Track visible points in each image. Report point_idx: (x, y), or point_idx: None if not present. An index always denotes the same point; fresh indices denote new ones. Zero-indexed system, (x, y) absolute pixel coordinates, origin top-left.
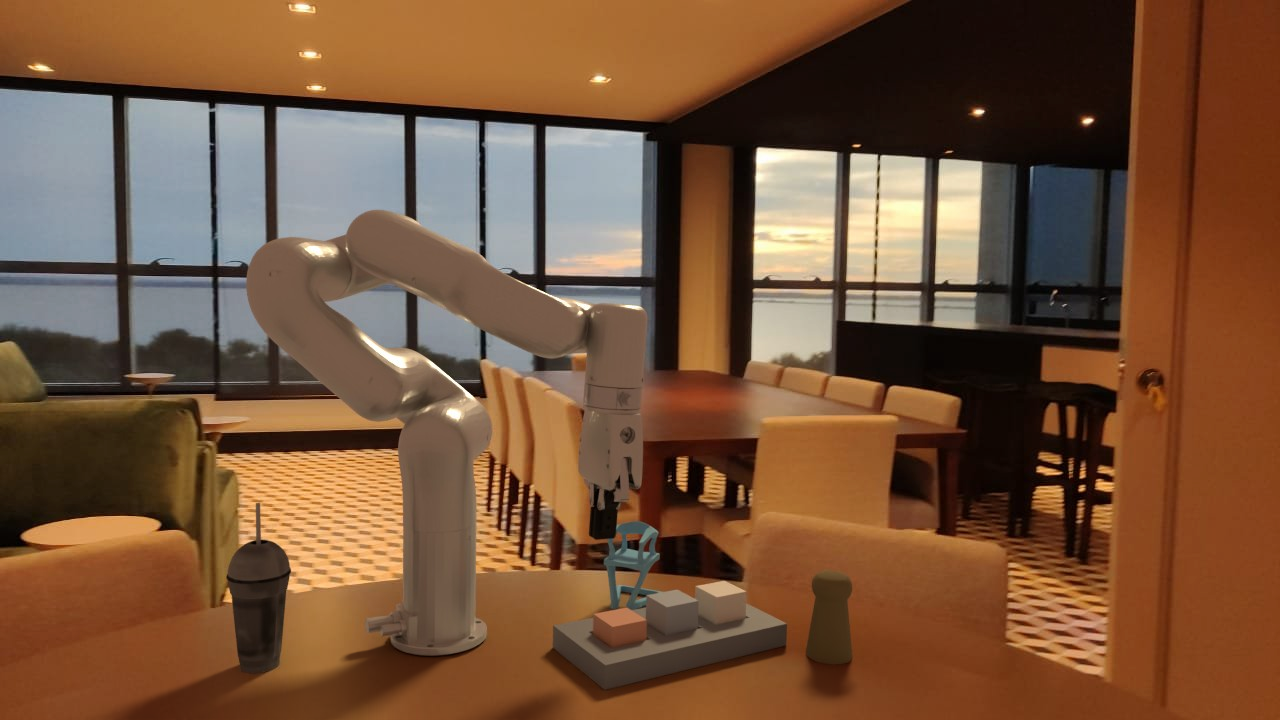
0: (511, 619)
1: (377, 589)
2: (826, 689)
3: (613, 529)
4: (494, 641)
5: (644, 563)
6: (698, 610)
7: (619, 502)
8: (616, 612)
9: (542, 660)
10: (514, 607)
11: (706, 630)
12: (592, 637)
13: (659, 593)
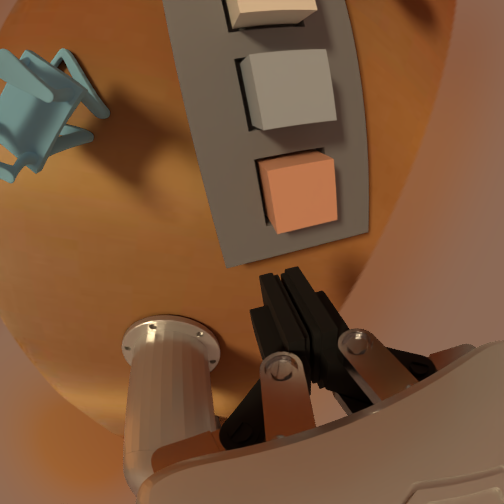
0: (118, 284)
1: (53, 373)
2: (422, 13)
3: (324, 293)
4: (187, 307)
5: (72, 86)
6: (246, 24)
7: (406, 354)
8: (284, 196)
9: (257, 267)
10: (78, 275)
11: None
12: None
13: (261, 99)
